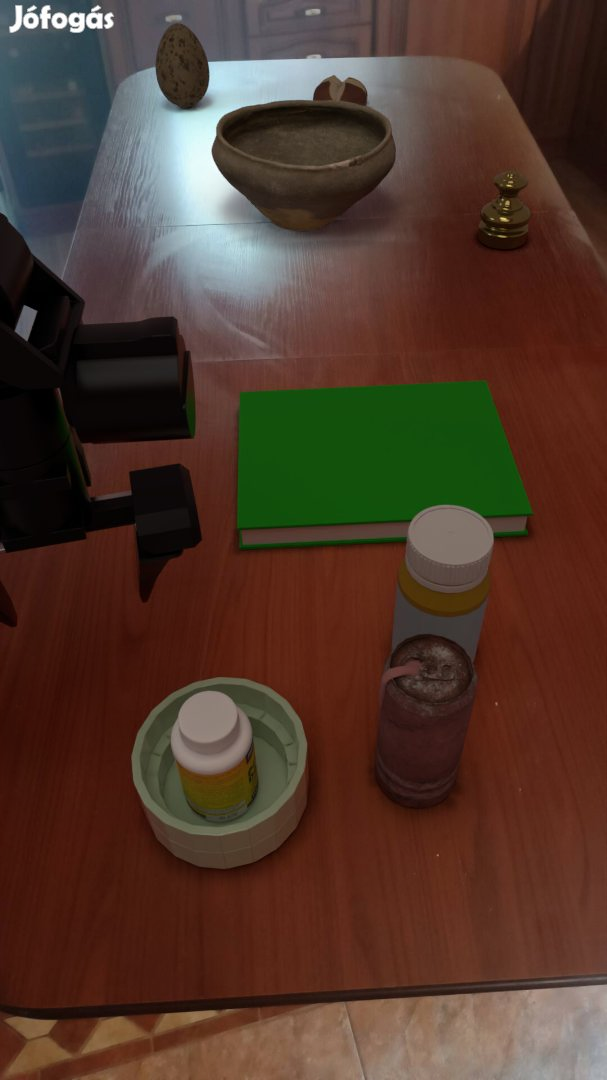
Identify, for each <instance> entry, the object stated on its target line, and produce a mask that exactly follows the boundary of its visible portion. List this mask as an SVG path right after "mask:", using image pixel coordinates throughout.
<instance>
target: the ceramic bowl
mask: <svg viewBox="0 0 607 1080" xmlns="http://www.w3.org/2000/svg"><path fill="white" fill-rule="evenodd" d="M204 691H217V692H221V693H223V694H225V695H227V696H228V697H230V698H231V699H232V700H233V702H234V703H235V705H236V706H238V707H239V708H240V709H241V710H242V711H243V712H244V713H245V714H246V715H247V717H248V719H249V721H250V724H251V728H252V732H253V741H254V748H255V757H256V765H257V773H258V792H257V796H256V798H255V800H254V802H253V804H252V805H251V807H250V808H249V809H248V810H247V811H246V812H245V813H243V814H242V815H241V816H239V817H237V818H235V819H233V820H230V821H225V822H212V821H208V820H205V819H203V818H201V817H199V816H198V815H197V814H195V813H194V812H193V811H192V810H191V808H190V807H189V805H188V803H187V801H186V798H185V795H184V792H183V788H182V784H181V781H180V777H179V773H178V770H177V766H176V762H175V758H174V755H173V752H172V748H171V732H172V728H173V726H174V724H175V722H176V720H177V719H178V714H179V711H180V709H181V707H182V705H183V704H184V703H185V702H186V700H188V699H189V698H190V697H192V696H193V695H195V694H197V693H200V692H204ZM132 748H133V749H132V752H131V755H130V756H131V757H130V760H131V771H132V781H133V785H134V788H135V790H136V791H135V792H136V793H137V796H138V799H139V801H140V804H141V807H142V809H143V812H144V815H145V818H146V820H147V821H148V824H149V826H150V828H151V830H152V832H153V834H154V836H155V838H156V840H157V841H158V842H159V843H161V845H163V846H164V847H165V849H167V850H168V851H169V852H170V853H171V854H172V855H173V856H174V857H175V858H178V859H180V860H183V861H185V862H187V863H189V864H192V865H194V866H196V867H200V868H208V869H209V868H210V869H222V870H227V869H231V868H232V869H233V868H235V867H236V868H237V867H240V866H244V865H249V864H253V863H255V862H258V861H259V860H260V859H262V858H264V857H266V856H267V855H270V854H271V853H272V852H274V851H276V850H277V849H278V848H280V847H281V845H283V844H284V843H285V841H286V840H287V839H288V838H289V836H291V834H292V833H293V832H294V831H295V830H296V829H297V827H298V825H299V823H300V820H301V818H302V816H303V813H304V811H305V809H306V807H307V804H308V796H309V795H308V793H309V782H310V777H309V776H310V775H309V774H310V773H309V754H308V753H309V751H308V741H307V737H306V734H305V729H304V725H303V721H302V720H301V718H300V716H299V715H298V714H297V712H296V711H295V710H294V708H293V707H292V705H291V704H290V702H289V701H288V700H287V699H286V698H284V697H283V696H282V695H280V694H279V693H278V692H276V691H275V690H274V689H272V688H271V687H269V686H267V685H265V684H262V683H259V682H256V681H253V680H251V679H248V678H241V677H224V676H217V677H213V678H208V679H203V680H198V681H194V682H191V683H190V684H187V685H186V686H184V687H182V688H179V689H178V690H176V691H173V692H172V693H170V694H169V695H167V697H165V698H164V699H163V700H162V701H161V702H160V703H158V704H157V705H156V706H155V707H154V708H153V709H152V710H151V711H150V712H149V714H148V716H147V717H146V719H145V720H144V722H143V723H142V725H141V727H140V728H139V730H138V731H137V733H136V736H135V741H134V744H133V747H132Z"/></svg>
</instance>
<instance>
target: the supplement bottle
mask: <svg viewBox="0 0 607 1080" xmlns="http://www.w3.org/2000/svg"><path fill="white" fill-rule="evenodd" d="M171 748H172V752H173V755H174V758H175V762H176V766H177V770H178V773H179V777H180V781H181V784H182V788H183V792H184V795H185V798H186V801H187V803H188V805H189V807H190V808H191V810H192V811H193V812H194V813H195V814H197V815H198V816H199V817H201V818H203V819H205V820H208V821H212V822H225V821H230V820H233V819H235V818H237V817H239V816H241V815H242V814H243V813H245V812H246V811H247V810H248V809H249V808H250V807H251V805H252V804H253V802H254V800H255V798H256V796H257V792H258V773H257V765H256V757H255V748H254V741H253V732H252V728H251V724H250V721H249V719H248V717H247V715H246V714H245V713H244V712H243V711H242V710H241V709H240V708H239V707H238V706H236V705H235V703H234V702H233V700H232V699H231V698H230V697H228V696H227V695H225V694H223V693H221V692H217V691H204V692H200V693H197V694H195V695H193V696H192V697H190V698H189V699H188V700H186V702H185V703H184V704H183V705H182V707H181V709H180V711H179V714H178V719H177V720H176V722H175V724H174V726H173V728H172V732H171Z"/></svg>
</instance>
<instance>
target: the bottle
mask: <svg viewBox="0 0 607 1080" xmlns="http://www.w3.org/2000/svg"><path fill="white" fill-rule="evenodd" d="M494 543H495V537H493V532H492V529H491V527H490V525H489V524H488V522H487V521H486V520H485V519H484V518H483V517H482V516H480V515H479V514H478V513H476V512H474V511H472V510H470V509H467V508H464V507H461V506H455V505H438V506H433V507H430V508H427V509H425V510H423V511H421V512H420V513H418V514H417V515H416V516H415V517H414V518H413V520H412V521H411V523H410V525H409V528H408V534H407V542H406V545H405V556H404V557H403V559H402V561H401V563H400V564H399V567H398V571H397V579H396V580H397V581H396V592H395V593H396V594H395V603H394V613H393V615H394V616H393V626H392V634H391V636H392V637H391V651H392V650H393V649H394V648H395V647H396V646H397V645H398V644H399V643H400V642H402V641H403V640H404V639H406V638H408V637H411V636H414V635H417V634H430V633H431V634H436V635H442V636H445V637H447V638H449V639H451V640H454V641H456V642H457V643H458V644H459V645H460V646H462V647H463V648H464V649H465V650H466V652H467V653H468V655H469V656H470V658H471V659H472V663H473V664H474V662H475V658H476V656H477V655H476V654H477V649H478V644H479V641H480V636H481V631H482V628H483V622H484V618H485V613H486V609H487V604H488V600H489V595H490V592H491V591H490V590H491V582H492V581H491V573H490V571H489V565H490V562H491V559H492V555H493V550H494V545H495V544H494Z"/></svg>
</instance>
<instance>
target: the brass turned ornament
mask: <svg viewBox="0 0 607 1080" xmlns="http://www.w3.org/2000/svg"><path fill="white" fill-rule="evenodd" d="M492 182H493V185H494V186H495V187H496V188H497V189H498V191H499V193H498V194H497V196H496V197H494V198H493V199H492V200H490V201H488V202H487V203H484V205H482V207H481V208H480V213H479V215H480V216H479V217H480V221H479V222H478V231H477V239H478V241H479V242H480V243H481V244H482V245H484V246H486V247H488V248H491V249H496V250H512V249H517V248H519V247H521V246H523V245H524V244H525V243H526V242H527V238H528V232H529V230H530V227H529V223H530V220H531V218H532V212H531V209H530V208H529V206H528V205H527V204H525V203H524V202H523V201H522V199H521V198H520V197H519V193H520V192H521V191H523V190H524V189H526V188H527V187H528V185H529V178H528V177H527V176H526V175H524V174H522V173H521V172H519V171H518V170H515V169H509V170H506V171H503V172H500V173H498V174H496V175H494V177H493V179H492Z"/></svg>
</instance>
